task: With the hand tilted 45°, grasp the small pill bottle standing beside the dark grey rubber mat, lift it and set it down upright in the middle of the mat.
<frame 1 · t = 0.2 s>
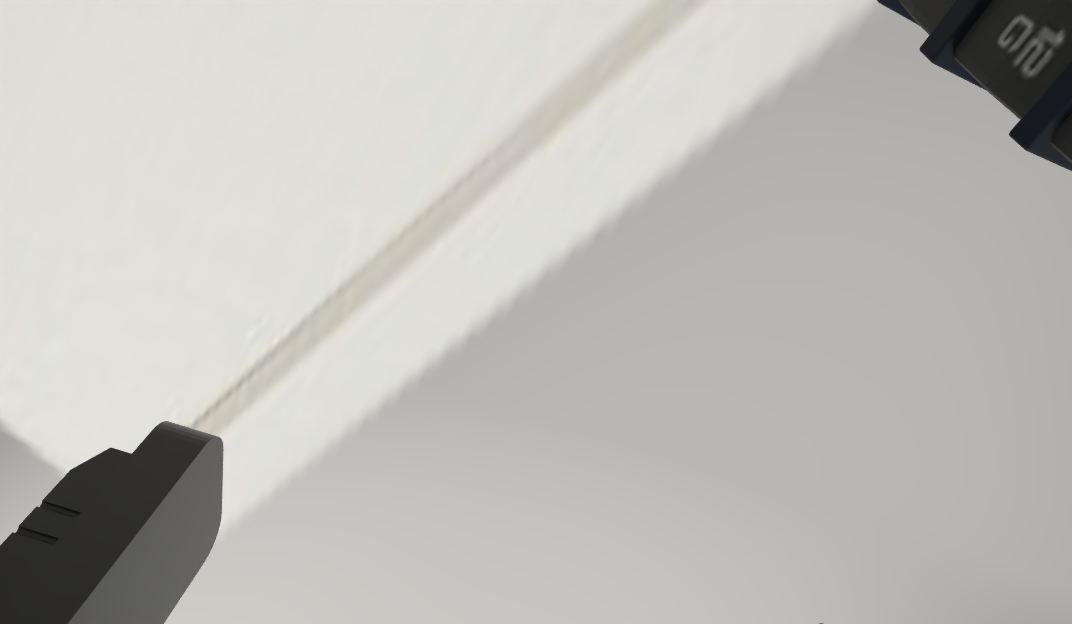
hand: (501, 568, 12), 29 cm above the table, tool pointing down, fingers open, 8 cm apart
magazine: (1052, 24, 33), on the table
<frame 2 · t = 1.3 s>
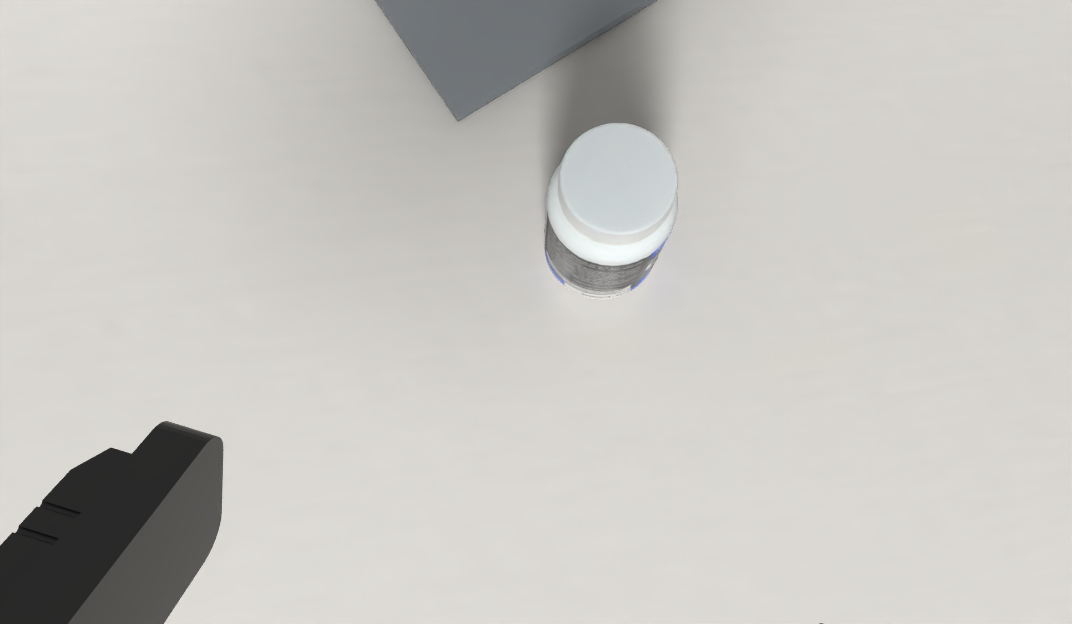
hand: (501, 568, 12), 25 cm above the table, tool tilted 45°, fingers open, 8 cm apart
pill bottle: (599, 247, 38), on the table
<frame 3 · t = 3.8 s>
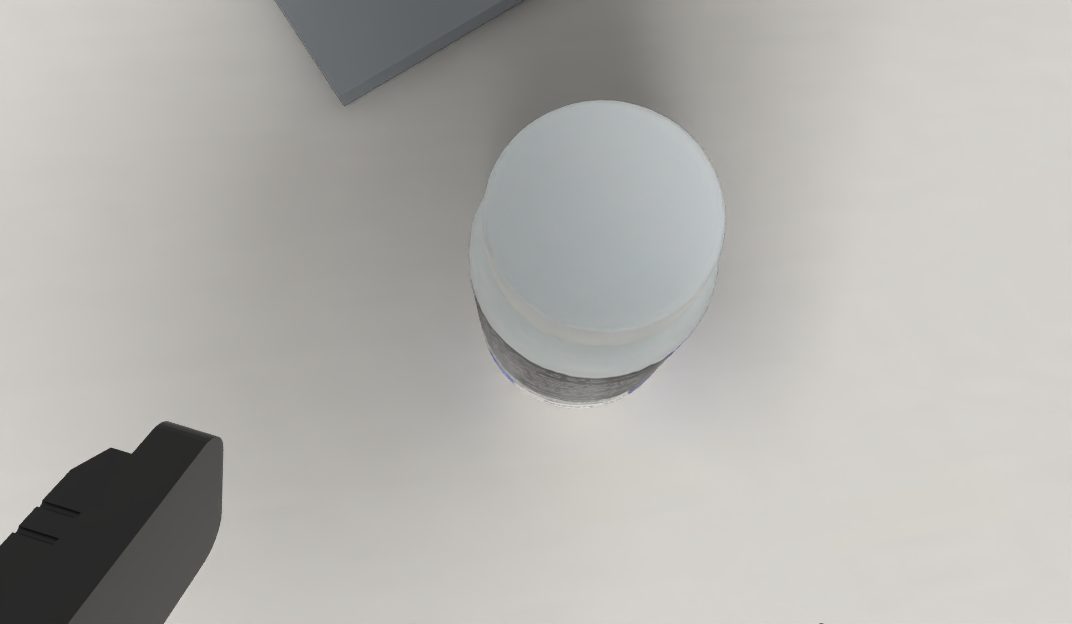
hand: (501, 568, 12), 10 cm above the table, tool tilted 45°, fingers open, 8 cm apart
pill bottle: (576, 317, 23), on the table
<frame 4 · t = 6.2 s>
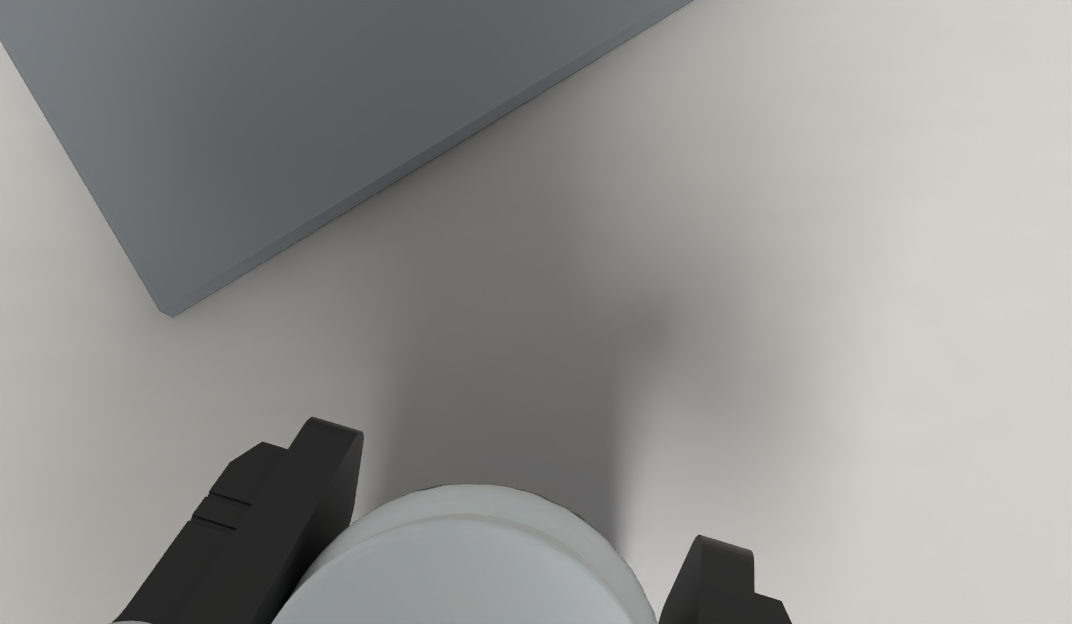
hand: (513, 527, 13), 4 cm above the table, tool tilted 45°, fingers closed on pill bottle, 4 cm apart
pill bottle: (488, 622, 16), on the table, touching gripper
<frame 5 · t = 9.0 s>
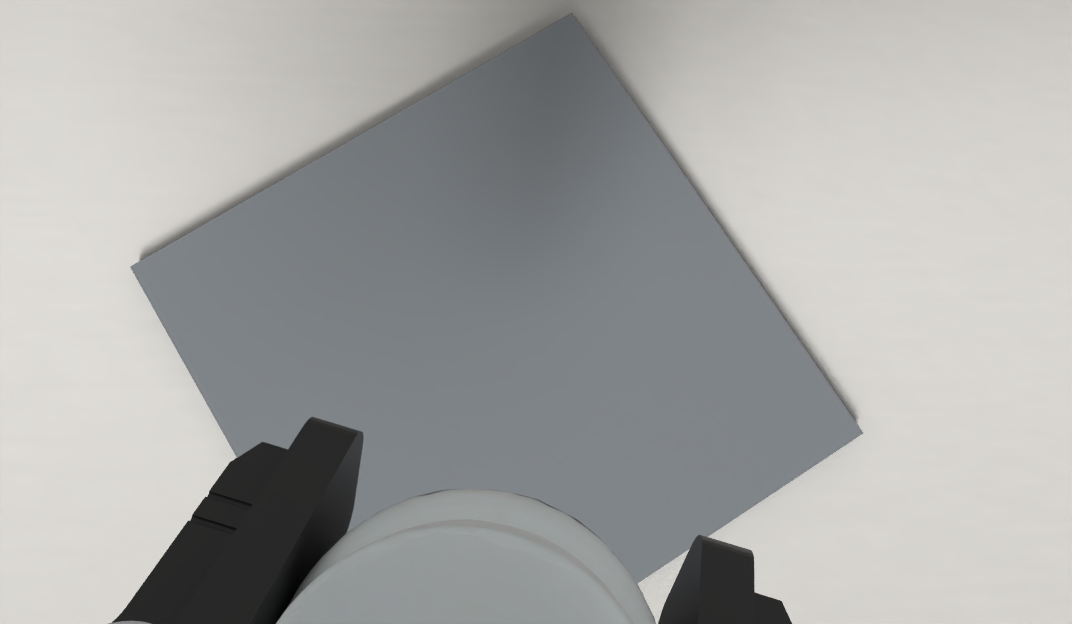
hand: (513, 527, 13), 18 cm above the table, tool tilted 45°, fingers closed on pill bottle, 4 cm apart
rubber mat: (492, 351, 31), on the table
when the fingers open (6 cm above the table, at t = 12.2 s): pill bottle drops 1 cm, resting on rubber mat.
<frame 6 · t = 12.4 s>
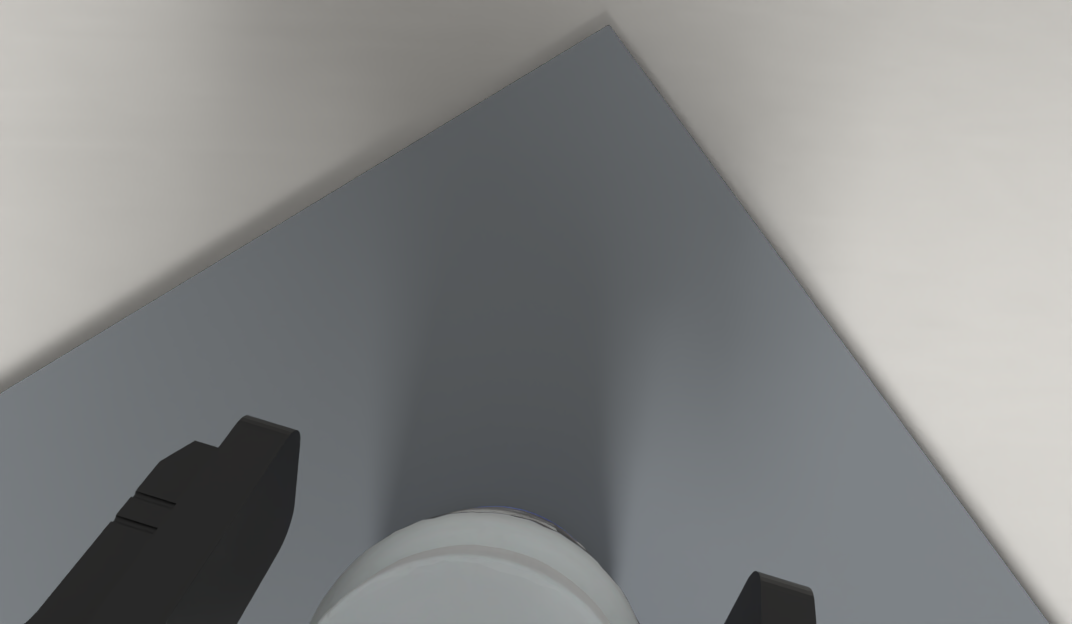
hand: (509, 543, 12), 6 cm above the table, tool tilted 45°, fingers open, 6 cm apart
rubber mat: (489, 610, 18), on the table
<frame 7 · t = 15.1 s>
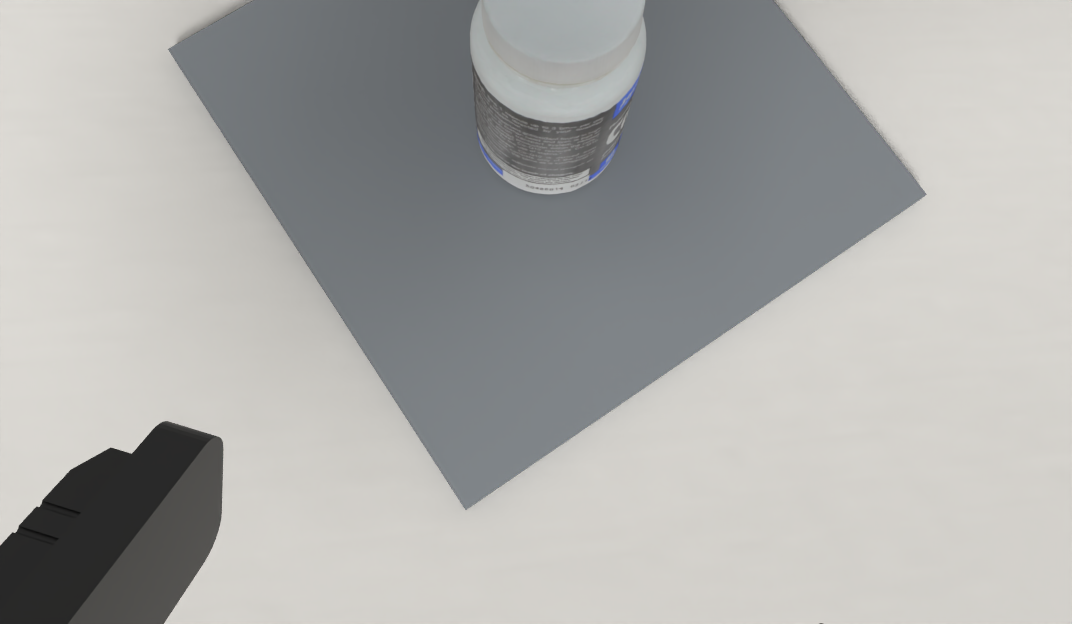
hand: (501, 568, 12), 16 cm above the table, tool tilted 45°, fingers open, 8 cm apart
rubber mat: (544, 128, 30), on the table
pill bottle: (547, 131, 30), resting on rubber mat
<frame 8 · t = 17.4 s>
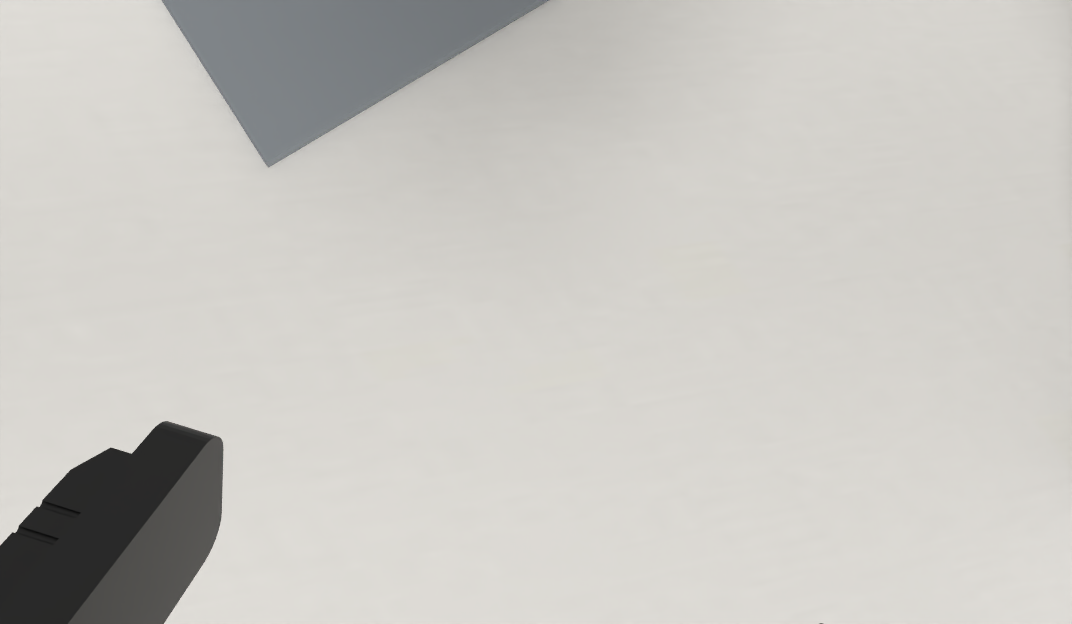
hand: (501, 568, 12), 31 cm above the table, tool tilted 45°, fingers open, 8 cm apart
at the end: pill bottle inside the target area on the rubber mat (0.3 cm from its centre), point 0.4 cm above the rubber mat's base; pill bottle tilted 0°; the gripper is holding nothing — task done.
